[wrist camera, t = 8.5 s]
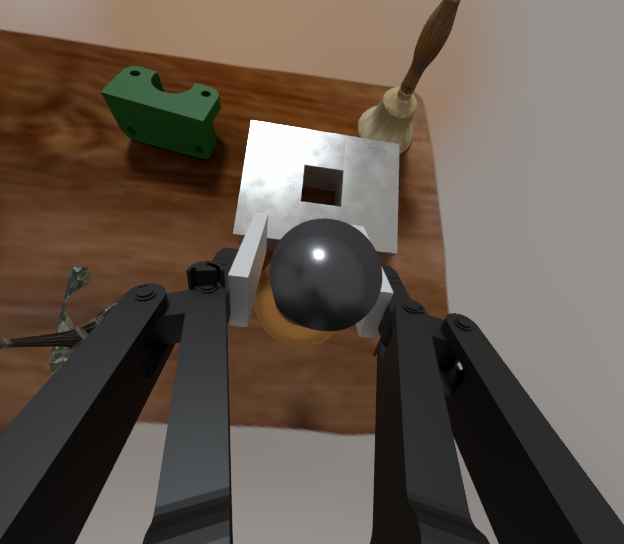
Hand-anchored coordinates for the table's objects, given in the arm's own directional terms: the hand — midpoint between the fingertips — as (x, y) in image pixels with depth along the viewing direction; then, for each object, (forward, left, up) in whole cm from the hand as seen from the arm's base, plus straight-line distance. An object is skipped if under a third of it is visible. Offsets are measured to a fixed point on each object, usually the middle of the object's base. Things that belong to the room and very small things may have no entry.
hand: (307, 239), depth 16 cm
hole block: (+2, +10, -16) cm, 19 cm away
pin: (0, -4, -6) cm, 7 cm away
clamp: (-17, +19, -17) cm, 30 cm away
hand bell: (+11, +23, -16) cm, 31 cm away
